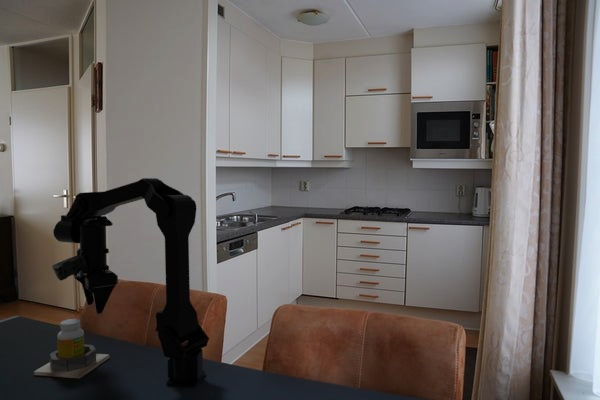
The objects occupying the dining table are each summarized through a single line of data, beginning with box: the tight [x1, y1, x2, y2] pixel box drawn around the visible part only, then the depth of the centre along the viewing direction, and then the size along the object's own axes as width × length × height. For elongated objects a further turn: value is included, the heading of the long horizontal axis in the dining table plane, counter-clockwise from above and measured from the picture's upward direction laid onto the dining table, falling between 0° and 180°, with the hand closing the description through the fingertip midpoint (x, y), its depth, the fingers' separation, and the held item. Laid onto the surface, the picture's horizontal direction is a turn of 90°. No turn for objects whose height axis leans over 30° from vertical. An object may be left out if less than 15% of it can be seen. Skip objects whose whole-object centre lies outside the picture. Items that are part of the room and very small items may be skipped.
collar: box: [33, 344, 110, 379], centre depth 99 cm, size 11×11×3 cm
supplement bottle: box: [56, 318, 85, 359], centre depth 98 cm, size 5×5×10 cm
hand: (94, 308), depth 103 cm, fingers open, 9 cm apart
